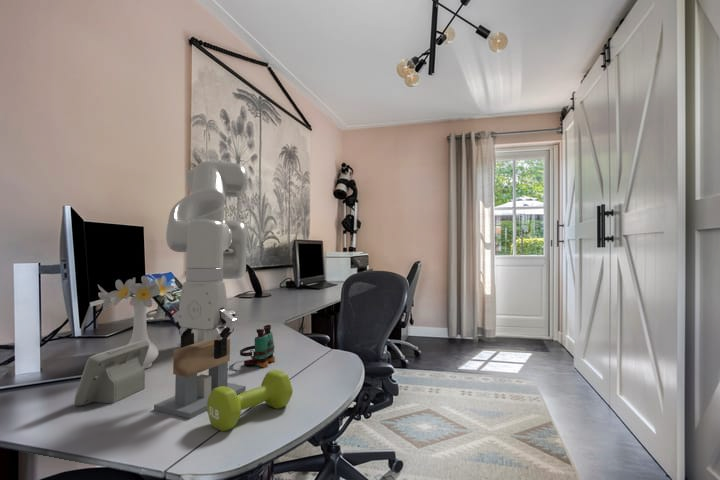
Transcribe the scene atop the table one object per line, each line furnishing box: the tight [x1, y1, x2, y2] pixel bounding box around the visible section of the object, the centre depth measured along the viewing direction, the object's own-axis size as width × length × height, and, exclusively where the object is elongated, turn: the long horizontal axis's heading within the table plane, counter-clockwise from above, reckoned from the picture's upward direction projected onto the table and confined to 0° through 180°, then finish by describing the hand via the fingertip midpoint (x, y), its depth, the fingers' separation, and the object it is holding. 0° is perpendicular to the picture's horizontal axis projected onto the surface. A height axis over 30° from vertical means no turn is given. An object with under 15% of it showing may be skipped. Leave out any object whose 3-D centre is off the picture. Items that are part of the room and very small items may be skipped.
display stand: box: [153, 361, 247, 420], centre depth 83 cm, size 10×16×7 cm, turn 157°
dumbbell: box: [207, 369, 294, 432], centre depth 76 cm, size 16×8×7 cm, turn 141°
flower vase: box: [97, 275, 176, 370], centre depth 105 cm, size 13×18×25 cm
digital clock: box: [74, 340, 149, 407], centre depth 86 cm, size 16×9×11 cm, turn 157°
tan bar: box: [172, 338, 231, 377], centre depth 83 cm, size 4×12×5 cm, turn 157°
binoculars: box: [239, 324, 276, 368], centre depth 110 cm, size 9×11×10 cm
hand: (203, 354), depth 83 cm, fingers open, 9 cm apart
